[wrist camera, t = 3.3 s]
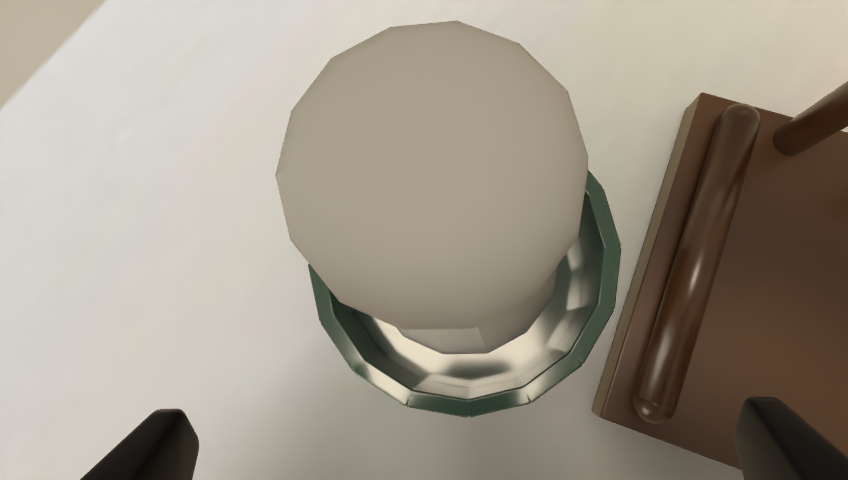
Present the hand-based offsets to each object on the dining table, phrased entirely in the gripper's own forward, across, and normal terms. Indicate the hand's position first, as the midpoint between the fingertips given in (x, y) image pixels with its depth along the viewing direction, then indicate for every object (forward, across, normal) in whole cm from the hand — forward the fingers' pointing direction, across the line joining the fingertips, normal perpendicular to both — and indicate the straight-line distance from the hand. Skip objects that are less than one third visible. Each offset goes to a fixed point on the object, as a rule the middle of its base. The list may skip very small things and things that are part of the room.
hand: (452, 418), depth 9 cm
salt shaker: (+10, 0, +5) cm, 11 cm away
